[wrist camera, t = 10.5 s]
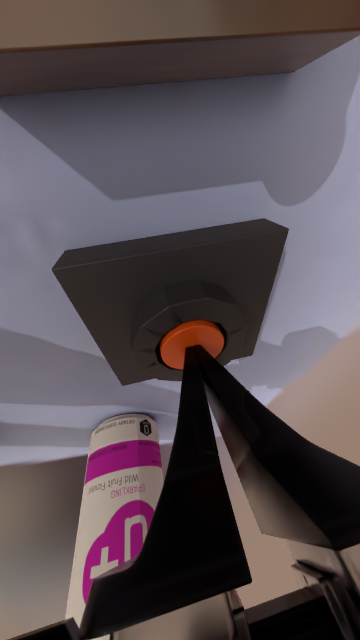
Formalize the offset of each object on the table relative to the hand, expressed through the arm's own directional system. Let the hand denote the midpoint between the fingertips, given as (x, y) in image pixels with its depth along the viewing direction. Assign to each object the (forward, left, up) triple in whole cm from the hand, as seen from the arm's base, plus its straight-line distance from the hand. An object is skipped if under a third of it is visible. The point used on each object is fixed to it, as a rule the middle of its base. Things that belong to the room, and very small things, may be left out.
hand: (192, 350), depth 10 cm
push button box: (0, 0, -4) cm, 4 cm away
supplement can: (-9, -18, -4) cm, 21 cm away
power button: (0, 0, -2) cm, 2 cm away
